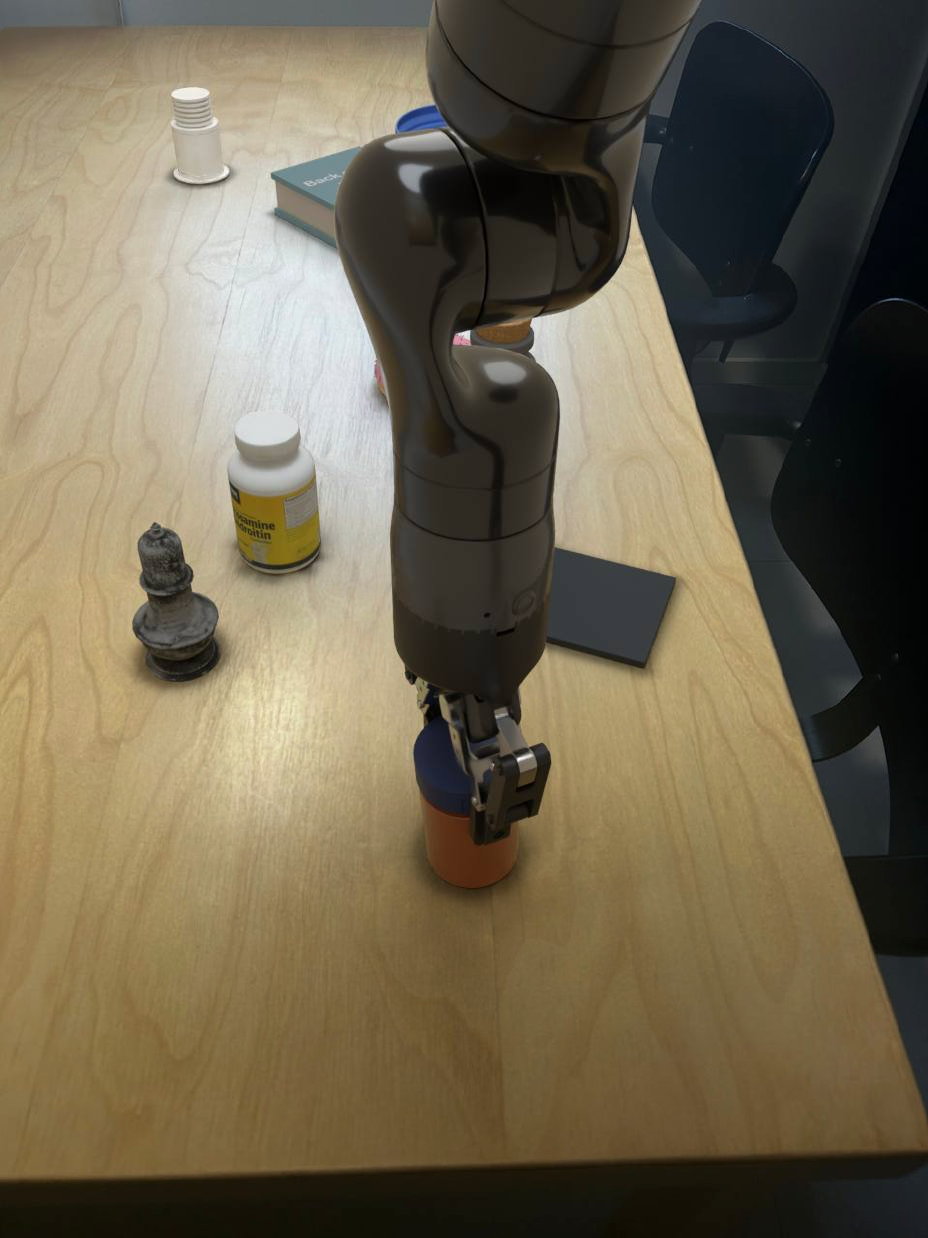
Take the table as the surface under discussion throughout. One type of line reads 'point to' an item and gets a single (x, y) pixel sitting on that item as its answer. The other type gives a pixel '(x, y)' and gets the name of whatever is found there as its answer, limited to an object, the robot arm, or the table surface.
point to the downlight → (196, 137)
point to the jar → (464, 849)
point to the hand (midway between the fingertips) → (466, 793)
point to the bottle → (506, 337)
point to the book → (312, 193)
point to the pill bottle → (274, 493)
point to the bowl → (420, 119)
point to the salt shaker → (173, 611)
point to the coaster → (606, 607)
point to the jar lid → (443, 768)
